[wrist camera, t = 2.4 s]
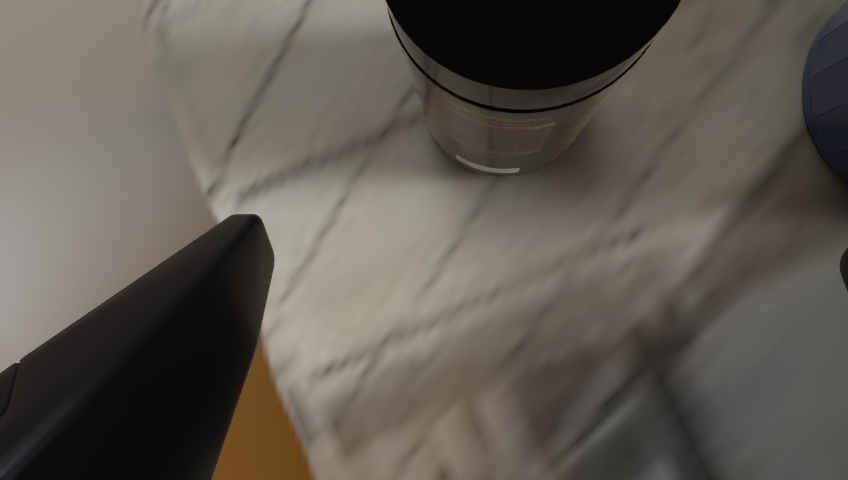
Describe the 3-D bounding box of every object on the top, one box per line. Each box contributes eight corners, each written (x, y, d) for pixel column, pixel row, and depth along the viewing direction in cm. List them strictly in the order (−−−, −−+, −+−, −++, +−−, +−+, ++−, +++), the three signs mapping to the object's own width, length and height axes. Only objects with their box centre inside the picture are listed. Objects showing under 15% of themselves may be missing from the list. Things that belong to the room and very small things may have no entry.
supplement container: (594, 27, 21) (717, -219, 10) (577, 189, 20) (686, 104, 10) (432, 17, 21) (392, -223, 11) (413, 172, 21) (354, 78, 11)
